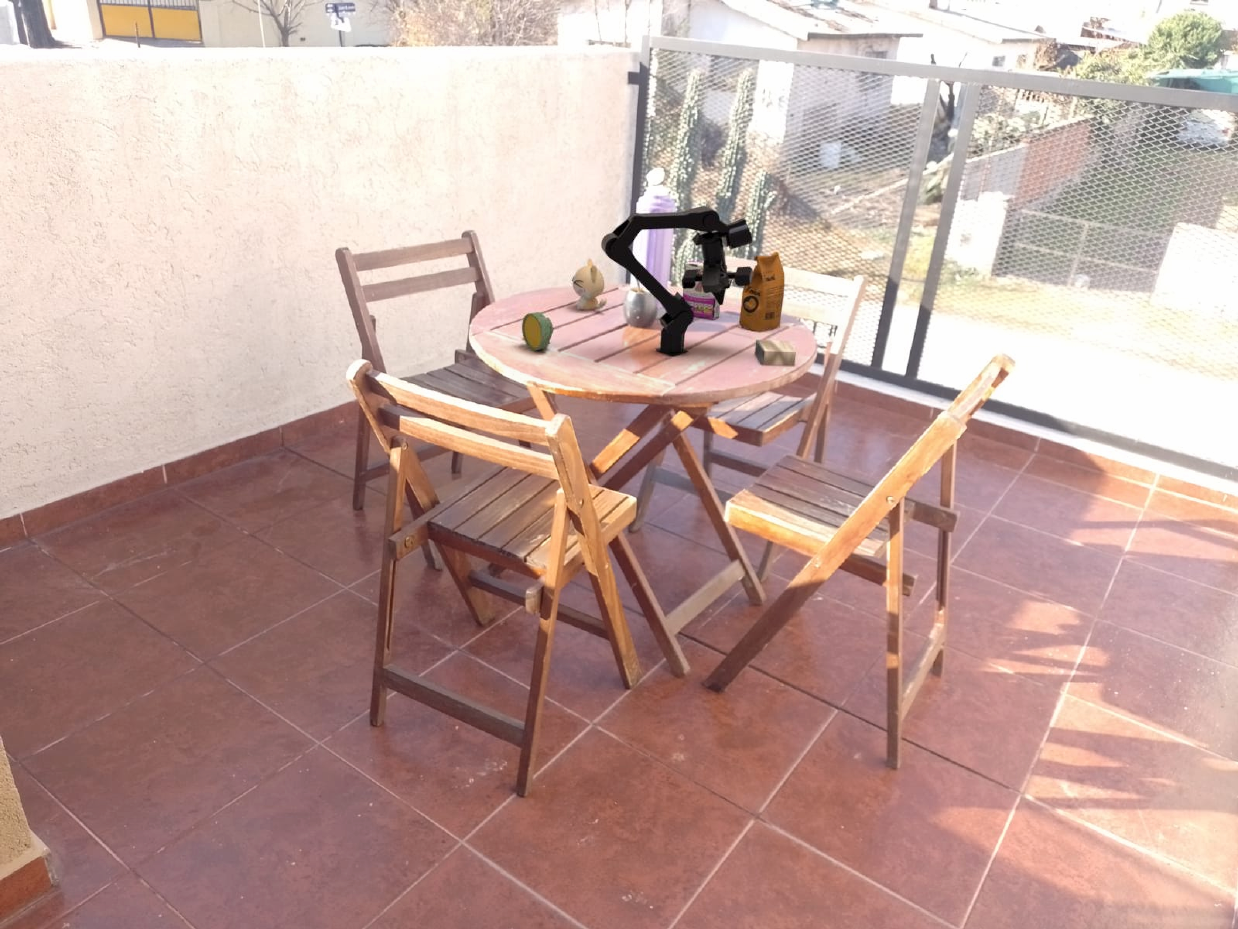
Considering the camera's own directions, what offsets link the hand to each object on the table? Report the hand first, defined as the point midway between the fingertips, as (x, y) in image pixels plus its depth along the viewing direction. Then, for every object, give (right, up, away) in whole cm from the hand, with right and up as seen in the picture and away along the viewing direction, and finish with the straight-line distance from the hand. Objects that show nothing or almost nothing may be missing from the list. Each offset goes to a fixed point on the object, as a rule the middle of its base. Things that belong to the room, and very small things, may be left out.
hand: (721, 304), depth 249 cm
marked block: (+10, -14, -5) cm, 18 cm away
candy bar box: (-3, +2, +34) cm, 34 cm away
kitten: (-38, +5, +36) cm, 53 cm away
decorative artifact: (-49, -13, -2) cm, 51 cm away
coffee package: (+14, -3, +25) cm, 29 cm away
